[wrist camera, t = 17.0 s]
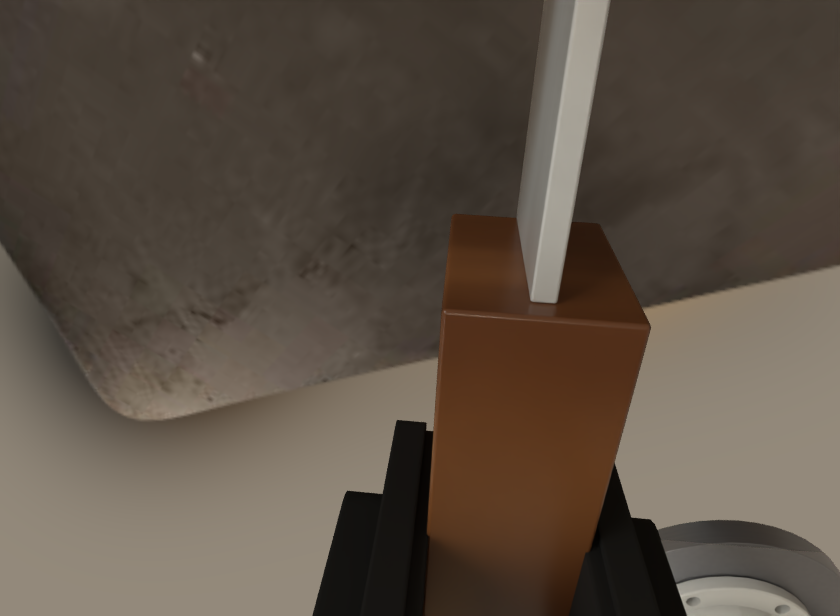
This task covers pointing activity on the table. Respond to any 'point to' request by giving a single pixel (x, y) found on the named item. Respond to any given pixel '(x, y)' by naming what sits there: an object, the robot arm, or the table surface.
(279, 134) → the table surface
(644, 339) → the knife
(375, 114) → the table surface
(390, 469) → the robot arm
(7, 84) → the table surface
